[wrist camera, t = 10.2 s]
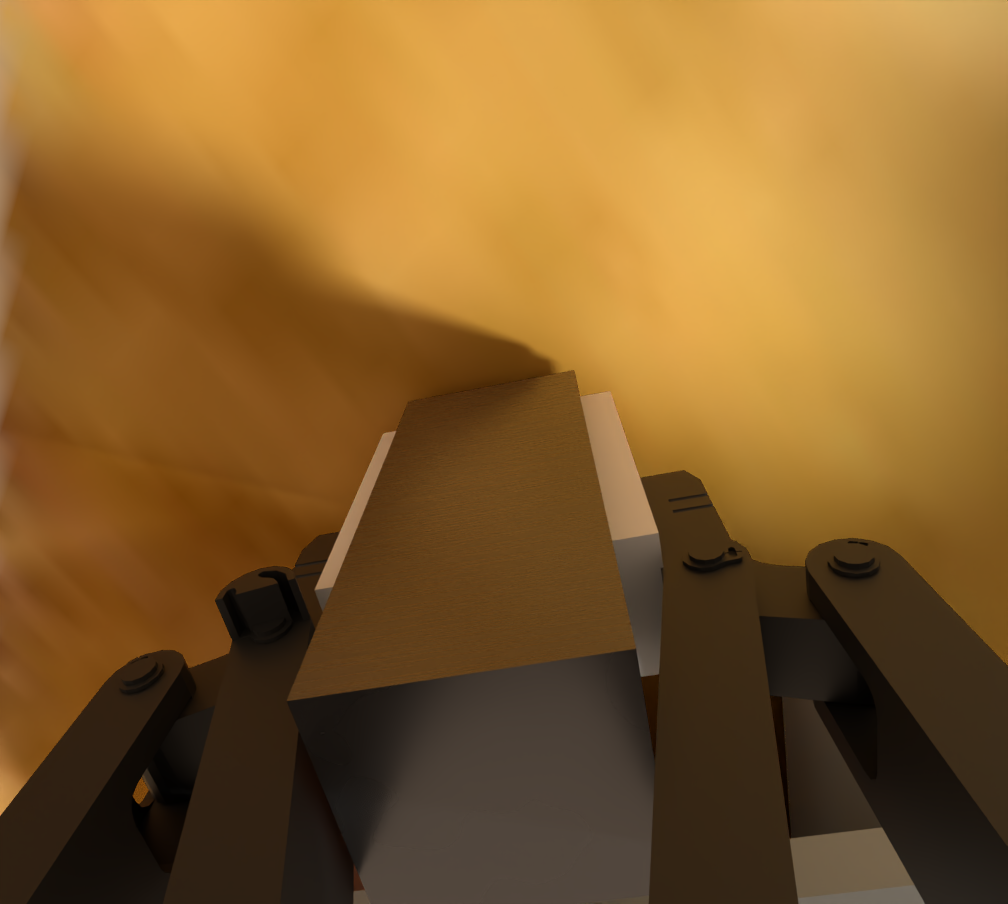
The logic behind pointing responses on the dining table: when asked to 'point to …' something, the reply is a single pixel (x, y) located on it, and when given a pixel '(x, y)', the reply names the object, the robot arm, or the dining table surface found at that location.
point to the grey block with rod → (483, 666)
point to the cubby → (825, 825)
